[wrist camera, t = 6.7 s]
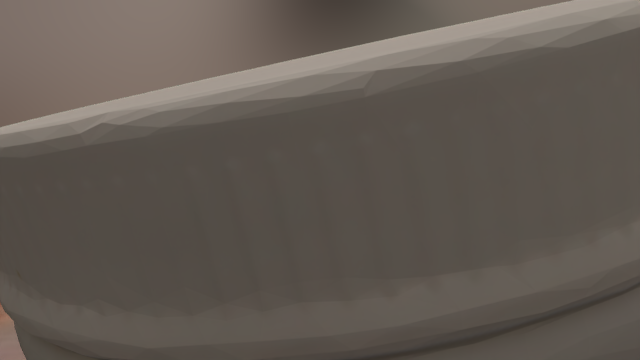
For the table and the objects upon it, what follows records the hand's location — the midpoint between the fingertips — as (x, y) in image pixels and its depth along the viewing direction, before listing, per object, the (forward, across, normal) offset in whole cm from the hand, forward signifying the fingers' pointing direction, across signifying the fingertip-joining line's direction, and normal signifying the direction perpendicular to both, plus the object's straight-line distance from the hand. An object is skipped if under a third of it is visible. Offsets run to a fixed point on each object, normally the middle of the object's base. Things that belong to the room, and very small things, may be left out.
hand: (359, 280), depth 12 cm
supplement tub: (-4, 0, -9) cm, 10 cm away
